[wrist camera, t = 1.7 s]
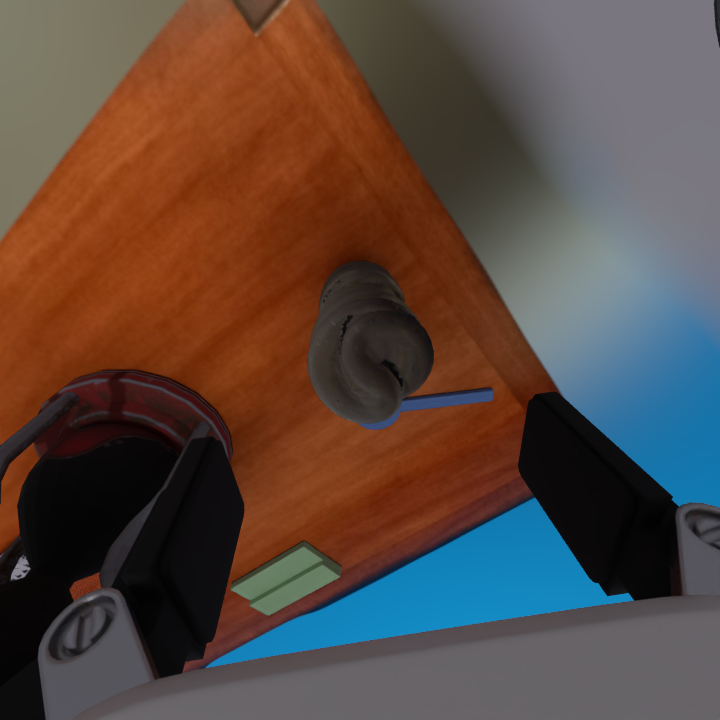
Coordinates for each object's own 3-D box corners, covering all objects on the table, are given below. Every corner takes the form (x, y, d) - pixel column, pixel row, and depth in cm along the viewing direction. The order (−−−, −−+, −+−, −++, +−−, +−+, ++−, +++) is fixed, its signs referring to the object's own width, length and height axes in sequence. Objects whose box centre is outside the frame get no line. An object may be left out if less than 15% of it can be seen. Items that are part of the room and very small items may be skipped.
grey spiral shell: (356, 329, 29) (379, 457, 16) (302, 288, 27) (276, 395, 14) (402, 276, 27) (472, 372, 14) (349, 229, 25) (371, 287, 12)
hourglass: (157, 337, 28) (-494, 947, 6) (265, 468, 35) (159, 957, 13) (1, 414, 30) (-911, 1077, 8) (134, 522, 37) (-148, 1023, 15)
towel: (304, 540, 41) (303, 551, 40) (341, 566, 44) (341, 577, 42) (231, 583, 44) (228, 594, 42) (270, 604, 46) (269, 616, 45)
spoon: (492, 372, 32) (496, 376, 31) (489, 411, 34) (491, 415, 33) (350, 389, 32) (351, 394, 31) (355, 427, 34) (355, 432, 33)
